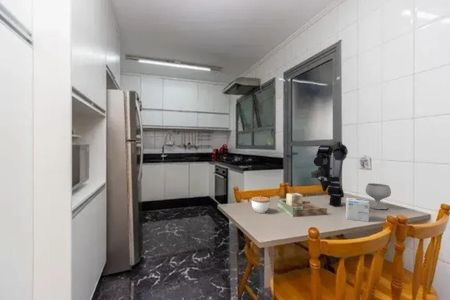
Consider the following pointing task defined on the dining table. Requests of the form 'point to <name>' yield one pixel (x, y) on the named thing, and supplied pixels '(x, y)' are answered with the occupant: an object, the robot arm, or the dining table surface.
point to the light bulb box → (357, 209)
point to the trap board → (301, 209)
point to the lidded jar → (260, 204)
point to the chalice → (378, 194)
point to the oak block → (294, 199)
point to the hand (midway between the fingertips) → (324, 191)
